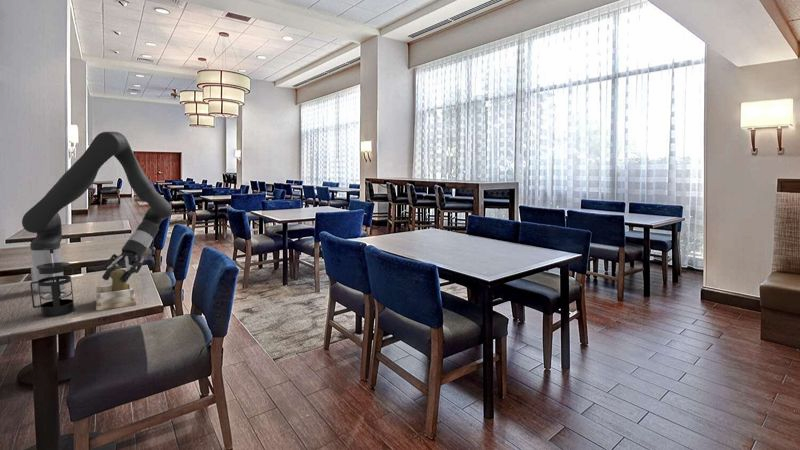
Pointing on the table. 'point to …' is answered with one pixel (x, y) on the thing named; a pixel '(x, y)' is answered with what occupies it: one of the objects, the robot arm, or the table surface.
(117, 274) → the cork
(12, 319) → the table surface
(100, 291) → the cruet holder
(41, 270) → the french press
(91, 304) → the table surface
